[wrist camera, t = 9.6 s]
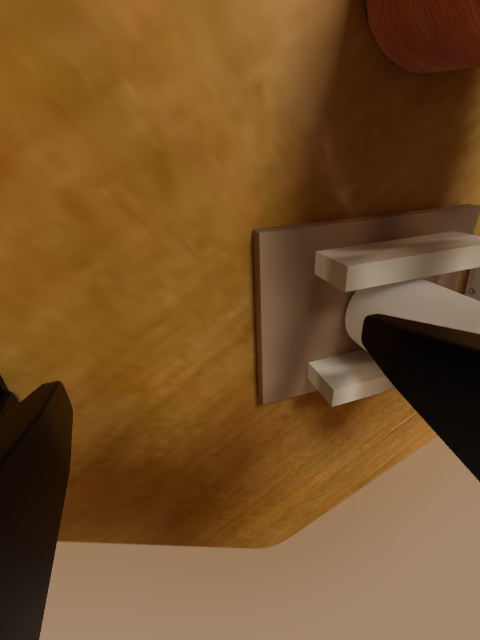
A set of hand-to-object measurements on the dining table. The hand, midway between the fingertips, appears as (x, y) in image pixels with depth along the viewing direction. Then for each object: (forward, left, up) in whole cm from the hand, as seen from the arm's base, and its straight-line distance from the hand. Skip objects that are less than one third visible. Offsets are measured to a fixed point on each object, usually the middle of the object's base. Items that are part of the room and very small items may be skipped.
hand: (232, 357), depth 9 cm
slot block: (+14, -6, -12) cm, 19 cm away
